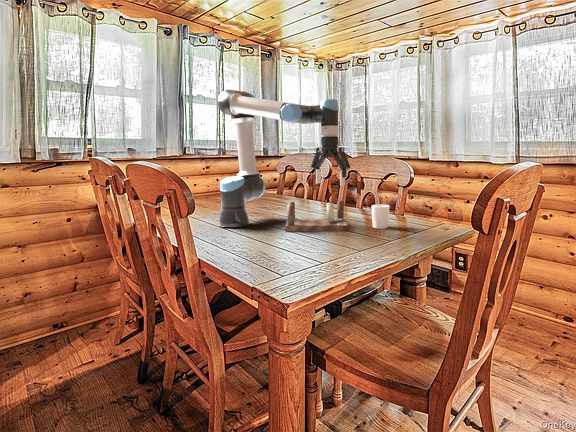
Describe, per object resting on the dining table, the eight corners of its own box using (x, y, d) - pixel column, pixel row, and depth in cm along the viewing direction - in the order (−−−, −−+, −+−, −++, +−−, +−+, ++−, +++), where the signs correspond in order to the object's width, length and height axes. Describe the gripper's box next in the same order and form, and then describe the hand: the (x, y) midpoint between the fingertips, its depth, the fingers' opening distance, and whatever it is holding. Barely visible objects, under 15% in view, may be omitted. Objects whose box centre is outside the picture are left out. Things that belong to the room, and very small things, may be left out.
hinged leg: (340, 219, 178) (340, 201, 177) (344, 221, 176) (344, 202, 174) (325, 222, 175) (325, 203, 173) (329, 223, 172) (329, 204, 170)
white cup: (389, 229, 169) (390, 207, 167) (371, 229, 171) (371, 207, 169) (388, 225, 177) (388, 204, 175) (371, 225, 179) (371, 204, 177)
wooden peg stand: (285, 231, 171) (284, 206, 168) (287, 225, 184) (286, 201, 181) (348, 230, 169) (348, 205, 167) (345, 224, 182) (345, 200, 180)
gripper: (302, 137, 172) (303, 183, 177) (348, 135, 155) (348, 186, 159) (313, 136, 178) (314, 182, 182) (358, 134, 161) (358, 184, 165)
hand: (330, 184), depth 171 cm, fingers open, 13 cm apart
